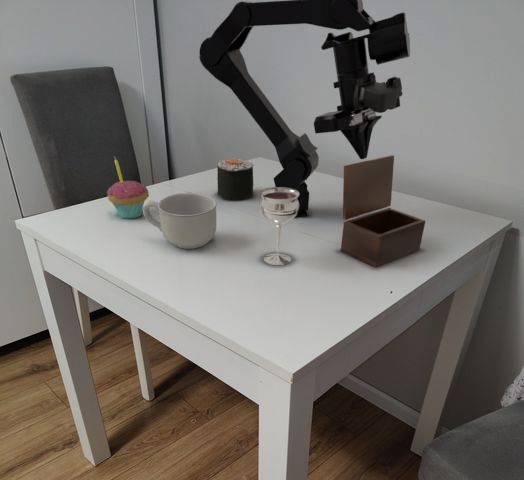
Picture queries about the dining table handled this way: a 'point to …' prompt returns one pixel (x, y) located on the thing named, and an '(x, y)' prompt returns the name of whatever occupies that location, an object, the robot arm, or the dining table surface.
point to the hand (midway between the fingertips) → (363, 158)
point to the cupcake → (127, 196)
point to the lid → (367, 186)
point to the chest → (382, 236)
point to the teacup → (185, 218)
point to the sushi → (235, 179)
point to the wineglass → (279, 215)
